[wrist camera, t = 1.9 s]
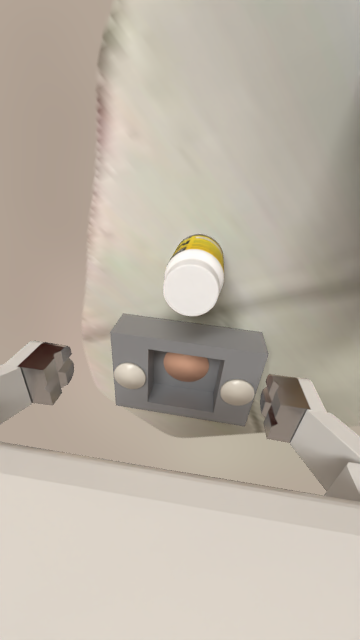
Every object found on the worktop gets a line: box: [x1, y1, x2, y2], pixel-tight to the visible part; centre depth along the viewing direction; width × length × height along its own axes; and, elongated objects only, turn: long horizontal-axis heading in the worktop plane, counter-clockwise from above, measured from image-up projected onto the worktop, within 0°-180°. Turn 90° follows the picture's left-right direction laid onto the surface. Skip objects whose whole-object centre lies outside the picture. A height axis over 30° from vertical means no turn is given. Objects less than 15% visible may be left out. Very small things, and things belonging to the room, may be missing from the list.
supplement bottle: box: [163, 234, 224, 316], centre depth 21 cm, size 5×5×8 cm
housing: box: [110, 314, 268, 426], centre depth 29 cm, size 16×11×4 cm
